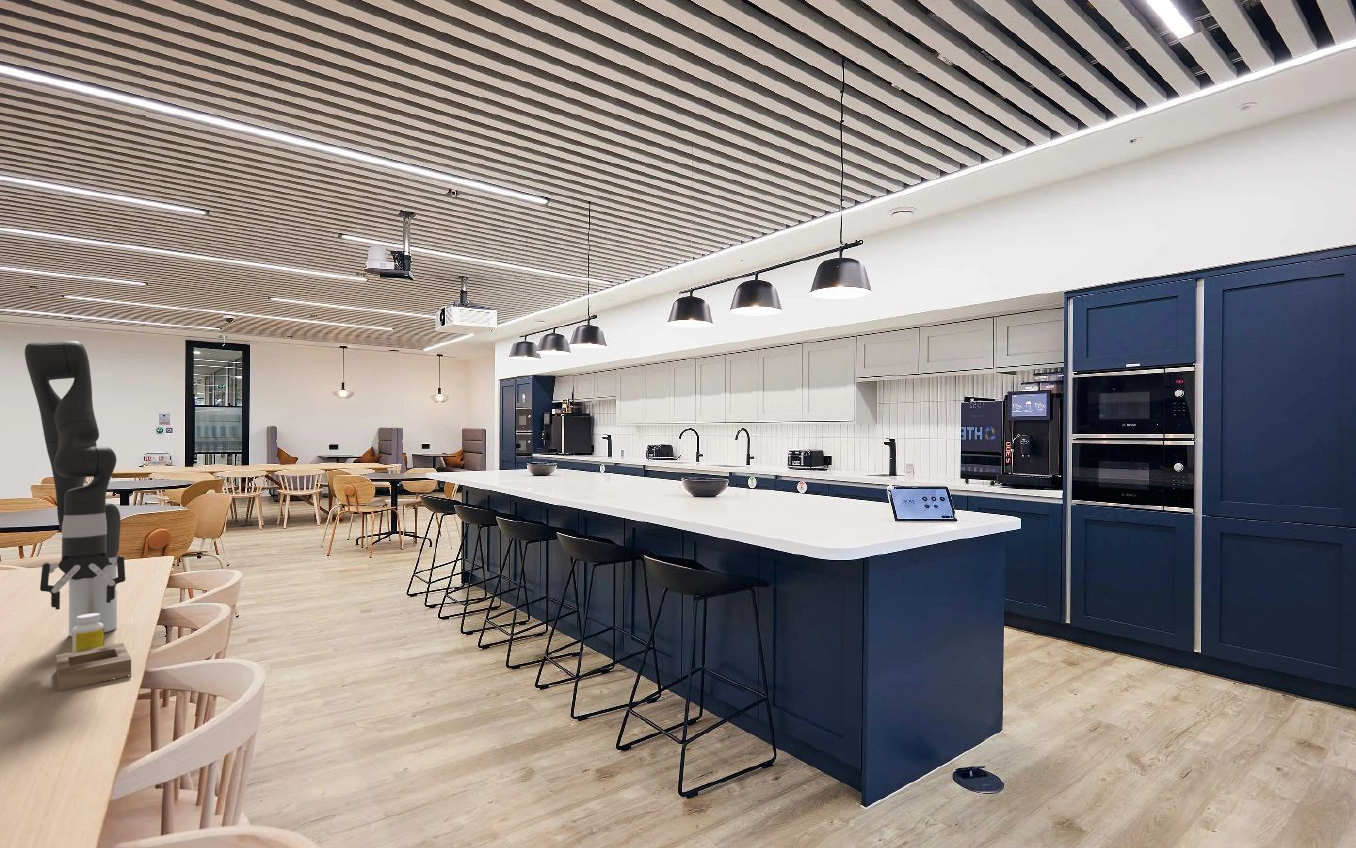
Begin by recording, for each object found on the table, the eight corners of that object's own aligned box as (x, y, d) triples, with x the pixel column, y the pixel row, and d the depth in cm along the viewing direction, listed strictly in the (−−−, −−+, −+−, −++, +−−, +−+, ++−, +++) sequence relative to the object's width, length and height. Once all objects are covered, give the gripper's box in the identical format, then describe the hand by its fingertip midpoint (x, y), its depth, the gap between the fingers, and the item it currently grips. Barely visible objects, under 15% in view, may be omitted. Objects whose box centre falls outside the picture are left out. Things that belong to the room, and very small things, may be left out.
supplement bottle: (109, 655, 149) (109, 613, 150) (81, 663, 144) (81, 619, 145) (94, 653, 151) (94, 611, 151) (66, 661, 146) (65, 617, 146)
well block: (56, 671, 140) (56, 655, 140) (123, 658, 148) (123, 642, 148) (58, 691, 128) (58, 673, 128) (131, 676, 136) (131, 659, 136)
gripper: (40, 538, 140) (39, 614, 140) (126, 532, 150) (126, 602, 150) (41, 535, 146) (39, 608, 145) (124, 529, 156) (123, 597, 155)
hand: (83, 605), depth 147 cm, fingers open, 8 cm apart
